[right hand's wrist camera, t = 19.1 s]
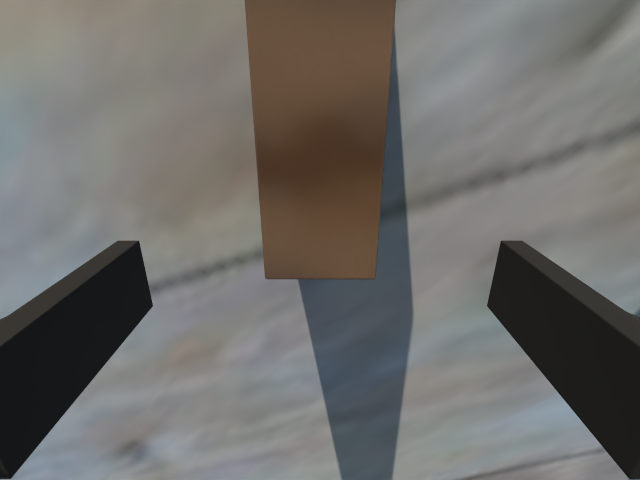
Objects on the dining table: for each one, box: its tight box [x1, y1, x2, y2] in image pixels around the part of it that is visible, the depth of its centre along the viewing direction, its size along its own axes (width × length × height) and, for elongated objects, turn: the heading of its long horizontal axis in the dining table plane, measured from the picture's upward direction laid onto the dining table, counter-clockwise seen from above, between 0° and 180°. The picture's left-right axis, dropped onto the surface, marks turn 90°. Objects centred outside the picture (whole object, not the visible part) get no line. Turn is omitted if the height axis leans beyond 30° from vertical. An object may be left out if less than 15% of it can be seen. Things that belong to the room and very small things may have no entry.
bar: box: [245, 0, 396, 279], centre depth 17 cm, size 23×6×10 cm, turn 0°
